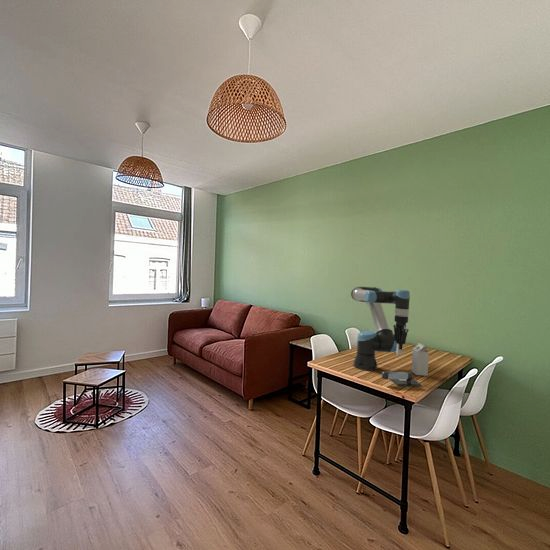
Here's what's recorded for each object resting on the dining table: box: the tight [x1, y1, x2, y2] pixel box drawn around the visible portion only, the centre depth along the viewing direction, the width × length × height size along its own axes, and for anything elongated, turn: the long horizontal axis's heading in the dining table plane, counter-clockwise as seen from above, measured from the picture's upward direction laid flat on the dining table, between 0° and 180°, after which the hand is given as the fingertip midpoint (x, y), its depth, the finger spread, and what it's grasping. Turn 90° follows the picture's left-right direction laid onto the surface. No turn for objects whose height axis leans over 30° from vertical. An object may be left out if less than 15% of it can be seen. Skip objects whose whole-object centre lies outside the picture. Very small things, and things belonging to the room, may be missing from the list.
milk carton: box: [410, 342, 430, 377], centre depth 186 cm, size 7×7×19 cm
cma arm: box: [381, 370, 414, 380], centre depth 164 cm, size 18×4×3 cm, turn 96°
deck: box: [388, 378, 422, 387], centre depth 172 cm, size 16×14×4 cm
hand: (399, 354), depth 176 cm, fingers closed
